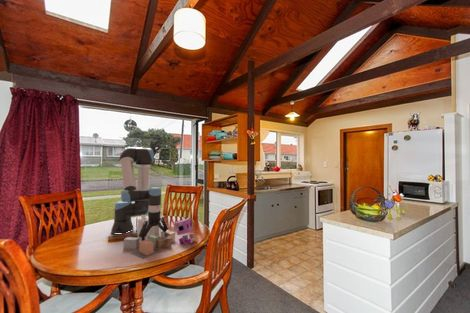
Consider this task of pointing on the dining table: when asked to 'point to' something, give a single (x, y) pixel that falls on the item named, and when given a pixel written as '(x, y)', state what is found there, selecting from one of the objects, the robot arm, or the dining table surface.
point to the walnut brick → (163, 243)
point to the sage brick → (153, 239)
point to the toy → (185, 230)
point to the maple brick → (170, 235)
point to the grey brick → (131, 243)
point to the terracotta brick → (146, 247)
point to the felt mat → (144, 254)
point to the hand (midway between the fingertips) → (153, 244)
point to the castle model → (153, 230)
